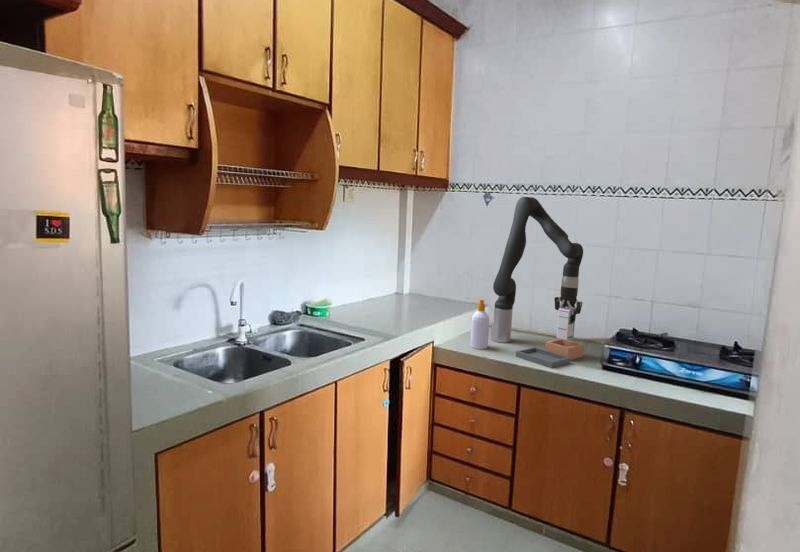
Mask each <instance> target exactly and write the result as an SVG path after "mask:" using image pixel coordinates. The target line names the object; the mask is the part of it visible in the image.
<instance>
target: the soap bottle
mask: <svg viewBox="0 0 800 552" xmlns="http://www.w3.org/2000/svg"><path fill="white" fill-rule="evenodd" d="M478 300H479V301H478V302H479V303H478V305H477V310H476V311H475V312H474V313H473V314H472V316H471V326H470V342H469V344H470V345H469V346H470V347H471V348H473V349H477V350H485V349H487V348H488V347H489V331H490V316H489V314H488V313H487V312H486V311H485V310H486V305H485V299H483V298H482V297H480V299H478Z"/></svg>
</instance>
